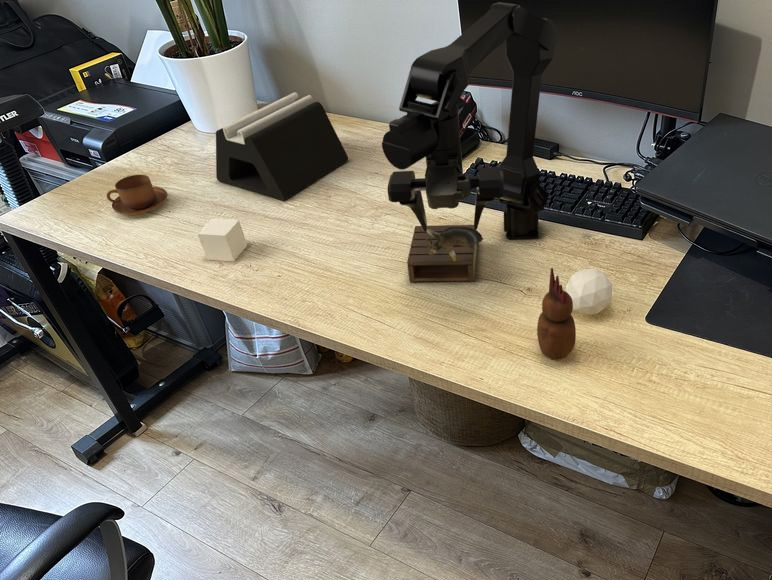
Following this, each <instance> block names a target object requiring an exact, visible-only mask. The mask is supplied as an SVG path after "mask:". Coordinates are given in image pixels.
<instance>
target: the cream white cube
mask: <svg viewBox="0 0 772 580" xmlns="http://www.w3.org/2000/svg"><path fill="white" fill-rule="evenodd" d="M197 237H198V240H199V243H200V245H201V247H202V250H203V252H204V255H205V258H206V260H207V261H219V262H221V261H222V262H236V260H237V259H238V258H239V257H240V255H242V253H243V251H244V250H245V249H246V248H247V247H248V243H247V240H246V237H245V234H244V231H243V228H242V225H241V222H240V219H232V218H231V219H230V218H214V217H212V218H211V219H210V220H209V221H208V222H207V223H206V224H205V225H204V226H203V227H202V228H201V229H200V230H199V231H198V232H197Z"/></svg>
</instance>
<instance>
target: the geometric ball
mask: <svg viewBox="0 0 772 580" xmlns="http://www.w3.org/2000/svg"><path fill="white" fill-rule="evenodd" d="M565 292H567V293H568V294H569V295H570V296H571V298H572V302H573V311H575V312H579V313H581V314H583V315H597V314H598V313H600V312H602V311H603V310H604V309H606V308H607V307H608V306H609V304H610V302H611V300H612V297H613V283H612V281H611V280H610V278H609V277H608V276H607V274H606V273H605V272H603V271H601V270H599V269H595V268H581V269H580V270H578V271H577V272H575V273H574V274H572V275H571V276H570V278H569V280H568V283H567V284H566V287H565Z"/></svg>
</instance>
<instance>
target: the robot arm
mask: <svg viewBox="0 0 772 580" xmlns="http://www.w3.org/2000/svg"><path fill="white" fill-rule="evenodd" d="M558 38H559V33H558V28H557V26H555V24H554V21H553V20H552V19H550V18H544V17H540V16H539V15H536V14H534V13H532V12H531V11H528V10H526V9H525V7H523V6H520V5H519V4H515V3H508V2H507V3H506V2H500V1H498V2H496V3H493V4H491V6H490V7H489V8H488V11H487V12H486V13H485V14H484V15H482V16H481V17H480V18H479V19H478V20H476V22H474V23H473V24H472V25H471V26H470V27H469V28H467V29H466V30H465V31H464V32H462V33H461V34H460V35H459V37H457V38H456V39H455V40H454V41H452V42H451V43H450V44H448V45H446V46H443V47H440V48H435V49H431V50H429V51H427V52H425V53H423V54H421V55H420V56H418V57H417V58H416V59H415V60H414V61H412V64H411V65H410V70H409V73H408V75H407V80H406V83H405V86H404V90H403V93H402V96H401V101H400V104H399V107H398V110H399V111H400V112H401V113H405V115H403V116H401V117H400V118H395V119H393V120H391V121H389V123H388V127H389V130H388V131H387V132H385V133H384V135H383V137H382V142H381V148H382V152H383V154H384V157H385V158H386V160H387V161H388V162H389V163H390V165H392V167H394V168H396V169H398V170H399V171H396V170H395V171H392V173H391V174H390V176H389V178H388V183H387V187H386V188H387V196H388V197H387V198H388V201H389V202H391V203H399V205H400V206H406V207H408V208H409V209H410V210H411V211H412V213H413V214H414V215H415V217H416V219H417V221H418V222H419V224H420V226H422V228H423V230H424V231H427V226H428V219H427V214H426V209H425V204H424V200H423V195H422V192H423V191H425V194H426V200H427V205H428V208H430V209H431V210H438V209H456V208H457V207H459V205H460V201H465V198H466V199H467V198H471V190H472V189H476V191H475V192H476V194H475V206H474V214H473V215H474V216H473V225H474V229H475V230H477V231H478V227H479V224H480V222H481V221H480V220H481V218H482V214H483V211H484V209H485V207H486V205H487V204H488V203H492V202H494V201H495V199H497V202H498V203H499V204H503V205H506V207H503V231H504V233H505V238H506V239H507V240H523V239H525V240H526V239H532V240H533V239H539V238H540V230H539V227H540V226H539V212H542V211H544V210H545V206H546V205H547V204H548V199H549V193H548V192H547V191H546V190H545V188H543V187H542V186H541V184H540V177H541V175H540V174H541V173H540V170H539V168H538V164H537V162H536V160H535V158H534V151H535V140H536V132H537V123H538V122H537V121H538V113H539V105H540V95H541V85H542V76H543V73H544V72H545V71H546V69H547V68H548V66H549V65H550V64H551V62H552V61H553V58H554V55H555V49H556V45H557V43H558ZM503 43H505V57H506V59H507V62H508V64H509V66H510V69H511V71H512V73H513V74H512V85H511V95H510V107H509V120H508V121H509V122H508V132H507V142H506V143H507V144H506V153H505V157H504V158H503V159H502V161H501V162H500V164H499V165H495V166H490V167H489V166H488V167H487V166H486V167H478V175H470V174H464V169H463V155H462V154H463V153H462V143H461V142H462V141H461V131H460V118H459V117H460V116H459V110H461V109H463V108H464V107H467V104H468V102H467V101H466V100H465V99H464V98H462V97H461V96H462V94H463V93H464V92H465V90H466V89H467V88H468V86H469V84H470V76H471V73H472V72H473V71H474V70H475V69H476V68H477V67H479V65H480V64H482V63H483V62H484V61H485V60H486V59H487V58H488V57H489V56H491V54H493V52H495V51H496V50H498V48H499V47H500V46H502V45H503ZM417 98H421V99H426V100H430V101H434V102H432V103H429V102H425V101H420V100H417ZM424 158H425V162H426V163H425V164H426V165H425V166H426V169H425V173H424V177H421V178H419V177H418V178H416V173H415V171H414V170H407V169H409V168H410V167H411V166H413V165H415V164H417V163H418V162H420V161H421V160H423V159H424Z"/></svg>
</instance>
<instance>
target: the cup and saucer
mask: <svg viewBox="0 0 772 580" xmlns="http://www.w3.org/2000/svg"><path fill="white" fill-rule="evenodd" d="M111 194H118V196H117V197H116V198H115V199H113V198H111ZM106 198H107V200H108V201H109V202H110V203H111V208H112V210H113V211H114V212H116V213H118V214H120V215H124V216H125V215H126V216H136V215H142V214H146V213H149V212H153V211H154V210H156V209H158V208H159V207H161V206H162V205H163V204H164V203H165V201H166V200H167V198H168V192H167V189H164V188H162V187H159V186H153V184H152V182H151V179H150V177H149V176H148V175H146V174H132V175H128V176H125V177H123V178H122V179H121V178H120V179H119V180H117V182H115V185H114V189H110V190H109V191H107V193H106Z"/></svg>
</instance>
